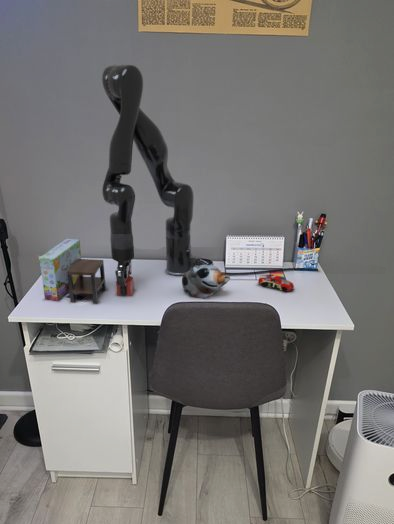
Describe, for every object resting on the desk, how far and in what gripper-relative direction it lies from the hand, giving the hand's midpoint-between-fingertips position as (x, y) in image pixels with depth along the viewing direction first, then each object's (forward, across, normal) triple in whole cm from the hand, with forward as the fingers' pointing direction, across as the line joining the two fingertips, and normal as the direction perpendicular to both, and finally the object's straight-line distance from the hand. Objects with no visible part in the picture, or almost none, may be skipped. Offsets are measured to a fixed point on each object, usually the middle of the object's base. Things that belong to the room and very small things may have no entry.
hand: (125, 291), depth 172 cm
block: (0, 0, 0) cm, 0 cm away
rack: (0, -4, +12) cm, 13 cm away
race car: (+1, +11, -53) cm, 54 cm away
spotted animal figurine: (+1, +3, -28) cm, 28 cm away
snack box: (+1, +1, +22) cm, 22 cm away
